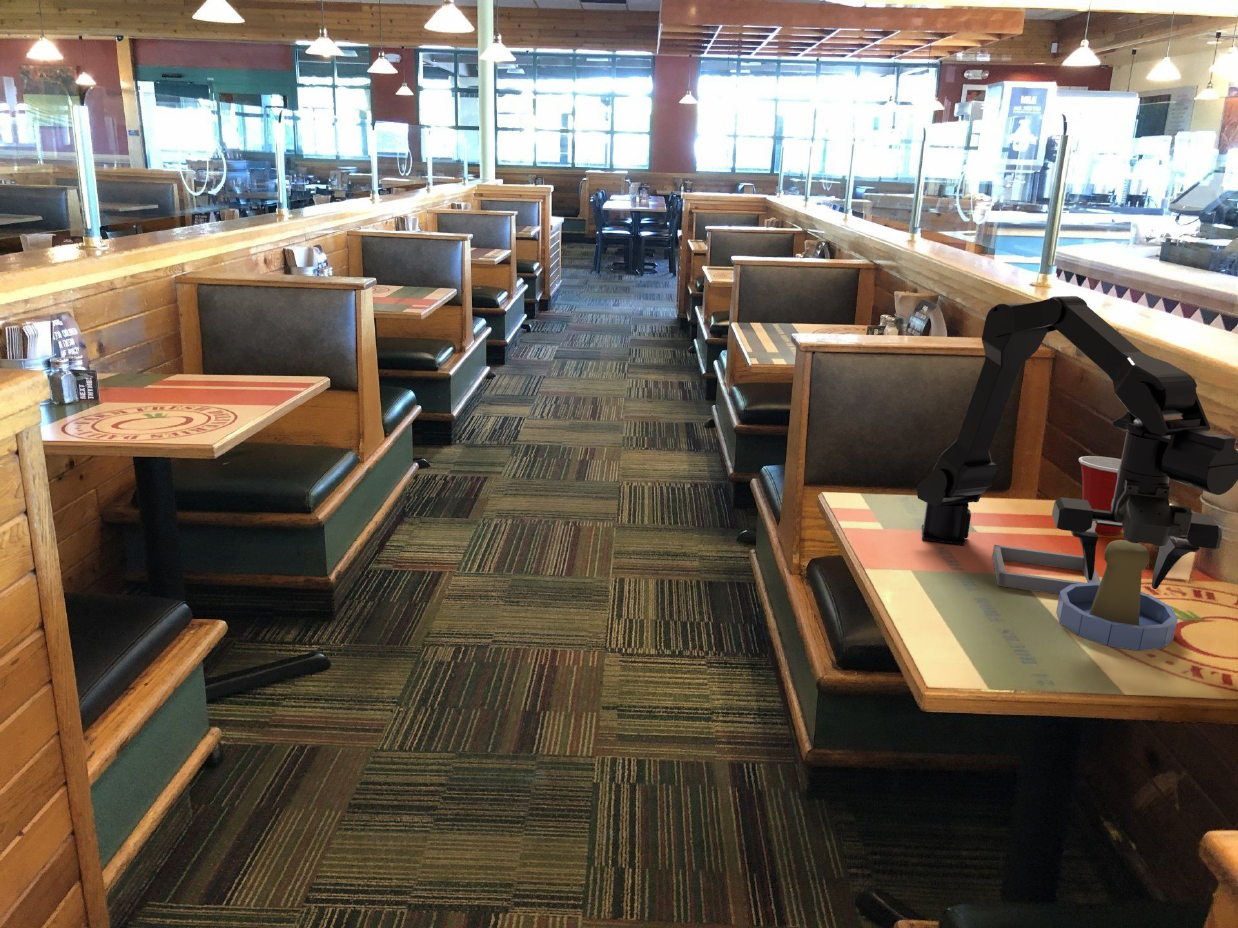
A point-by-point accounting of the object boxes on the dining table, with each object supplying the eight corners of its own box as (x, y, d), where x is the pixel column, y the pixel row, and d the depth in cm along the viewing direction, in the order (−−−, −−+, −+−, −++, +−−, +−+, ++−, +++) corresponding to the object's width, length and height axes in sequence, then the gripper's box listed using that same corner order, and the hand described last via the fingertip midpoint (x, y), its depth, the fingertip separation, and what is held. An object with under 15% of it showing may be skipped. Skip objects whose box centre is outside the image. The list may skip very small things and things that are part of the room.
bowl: (1064, 639, 125) (1068, 618, 124) (1051, 596, 138) (1055, 577, 137) (1182, 657, 121) (1187, 635, 121) (1158, 611, 134) (1162, 591, 133)
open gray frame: (997, 585, 141) (1000, 572, 140) (992, 556, 151) (994, 544, 151) (1100, 600, 137) (1103, 586, 136) (1087, 569, 148) (1089, 557, 147)
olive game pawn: (1128, 612, 132) (1144, 536, 129) (1146, 633, 126) (1163, 554, 123) (1082, 609, 133) (1096, 533, 129) (1097, 629, 127) (1113, 550, 124)
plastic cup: (1136, 525, 168) (1150, 458, 164) (1138, 545, 158) (1153, 475, 155) (1067, 513, 172) (1079, 448, 168) (1065, 533, 162) (1078, 464, 159)
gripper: (1074, 479, 118) (1052, 597, 123) (1248, 498, 113) (1218, 621, 118) (1061, 454, 128) (1042, 564, 133) (1220, 471, 124) (1194, 585, 128)
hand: (1121, 583), depth 128 cm, fingers open, 7 cm apart
